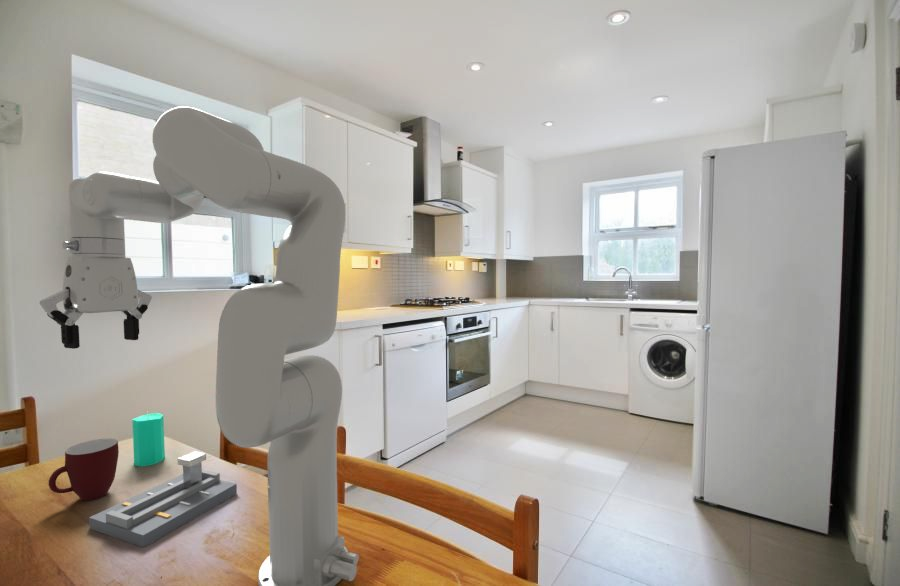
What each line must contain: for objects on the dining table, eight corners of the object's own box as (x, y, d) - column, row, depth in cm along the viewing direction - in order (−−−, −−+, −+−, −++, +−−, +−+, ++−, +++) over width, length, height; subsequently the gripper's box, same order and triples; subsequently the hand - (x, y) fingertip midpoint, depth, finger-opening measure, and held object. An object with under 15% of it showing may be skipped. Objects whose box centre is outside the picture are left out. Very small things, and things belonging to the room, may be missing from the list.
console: (236, 493, 85) (236, 476, 85) (143, 547, 69) (142, 526, 69) (187, 481, 91) (186, 465, 90) (89, 528, 74) (88, 508, 74)
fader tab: (207, 482, 85) (206, 453, 85) (190, 491, 82) (189, 460, 82) (195, 479, 86) (194, 451, 86) (178, 488, 83) (177, 458, 83)
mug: (62, 517, 77) (59, 463, 77) (42, 506, 81) (40, 454, 81) (128, 491, 87) (126, 442, 86) (108, 482, 90) (106, 435, 90)
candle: (140, 468, 97) (138, 416, 96) (129, 462, 100) (127, 411, 99) (169, 459, 102) (167, 409, 101) (158, 453, 105) (156, 405, 105)
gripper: (52, 246, 68) (57, 353, 69) (160, 251, 84) (164, 337, 85) (25, 247, 71) (31, 350, 72) (135, 252, 87) (139, 336, 88)
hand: (103, 343), depth 78 cm, fingers open, 9 cm apart
